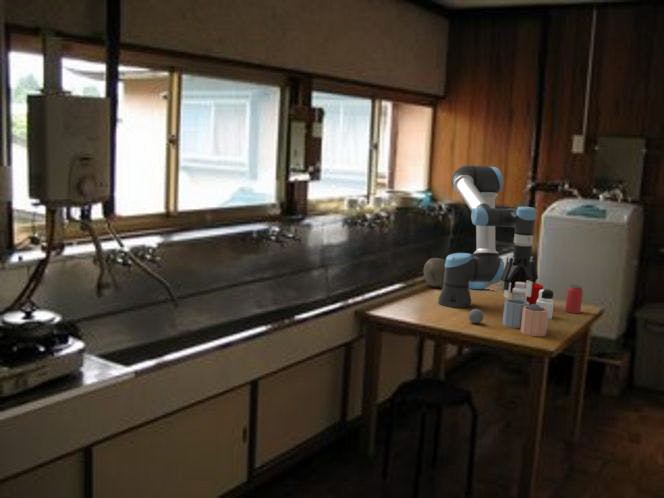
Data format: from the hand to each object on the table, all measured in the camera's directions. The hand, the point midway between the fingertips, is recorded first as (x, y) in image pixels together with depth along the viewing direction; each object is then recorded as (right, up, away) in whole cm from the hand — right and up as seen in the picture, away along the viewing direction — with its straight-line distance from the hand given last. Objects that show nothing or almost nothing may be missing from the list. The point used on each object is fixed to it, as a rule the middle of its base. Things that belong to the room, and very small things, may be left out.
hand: (517, 297), depth 305 cm
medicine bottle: (+17, -10, +20) cm, 28 cm away
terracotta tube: (+4, -14, -9) cm, 17 cm away
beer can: (+34, -9, +33) cm, 48 cm away
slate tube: (-1, -12, +2) cm, 12 cm away
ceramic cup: (+15, -6, +43) cm, 46 cm away
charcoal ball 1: (-17, -11, +1) cm, 20 cm away
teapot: (-4, 0, +74) cm, 74 cm away
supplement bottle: (+7, -8, +29) cm, 31 cm away
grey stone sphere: (-24, 0, +70) cm, 74 cm away
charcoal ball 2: (+5, -8, -11) cm, 14 cm away
